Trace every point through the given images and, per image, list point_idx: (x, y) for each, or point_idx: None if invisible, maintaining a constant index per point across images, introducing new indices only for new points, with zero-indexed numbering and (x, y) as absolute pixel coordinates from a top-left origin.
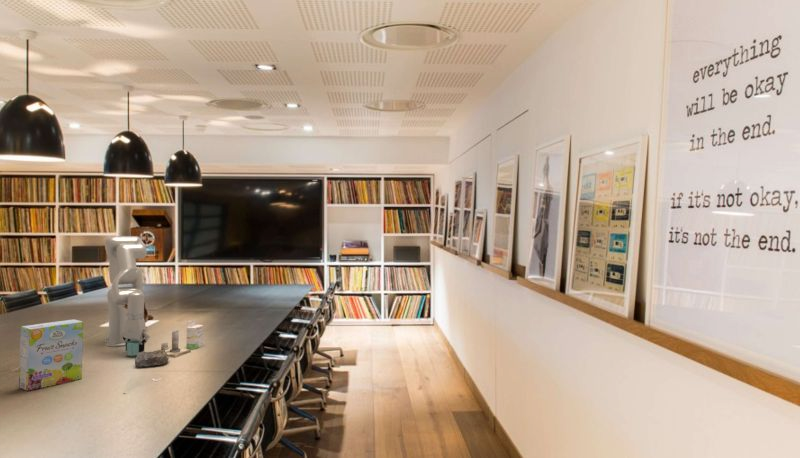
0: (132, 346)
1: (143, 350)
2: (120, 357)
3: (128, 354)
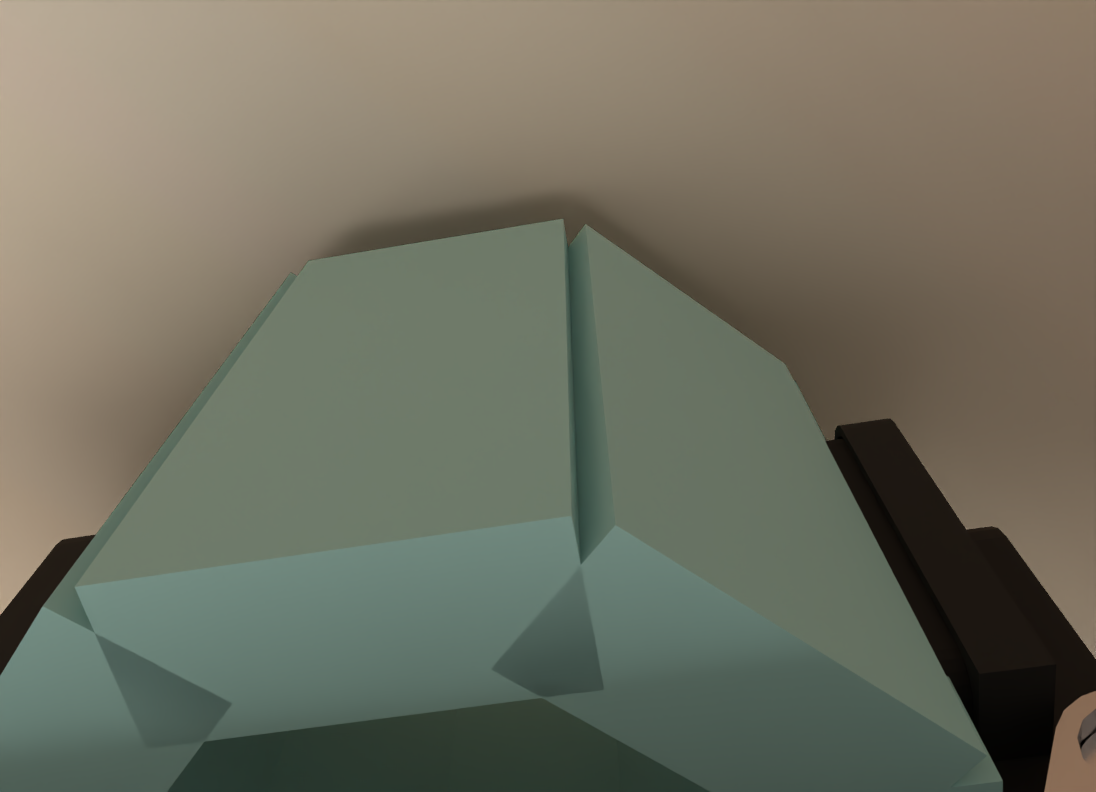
0: (157, 489)
1: None
2: (858, 87)
3: (486, 235)
